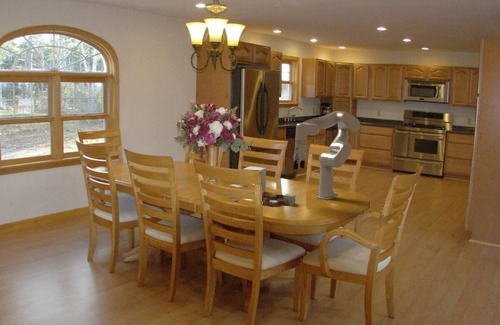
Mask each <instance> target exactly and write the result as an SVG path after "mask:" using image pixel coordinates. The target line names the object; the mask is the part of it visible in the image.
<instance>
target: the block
mask: <svg viewBox="0 0 500 325" xmlns="http://www.w3.org/2000/svg"><path fill="white" fill-rule="evenodd" d="M282 195H283V201H288V206H290V207H292V206H294V205H296V196H297V195H296V194H291V193H285V194H282Z"/></svg>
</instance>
